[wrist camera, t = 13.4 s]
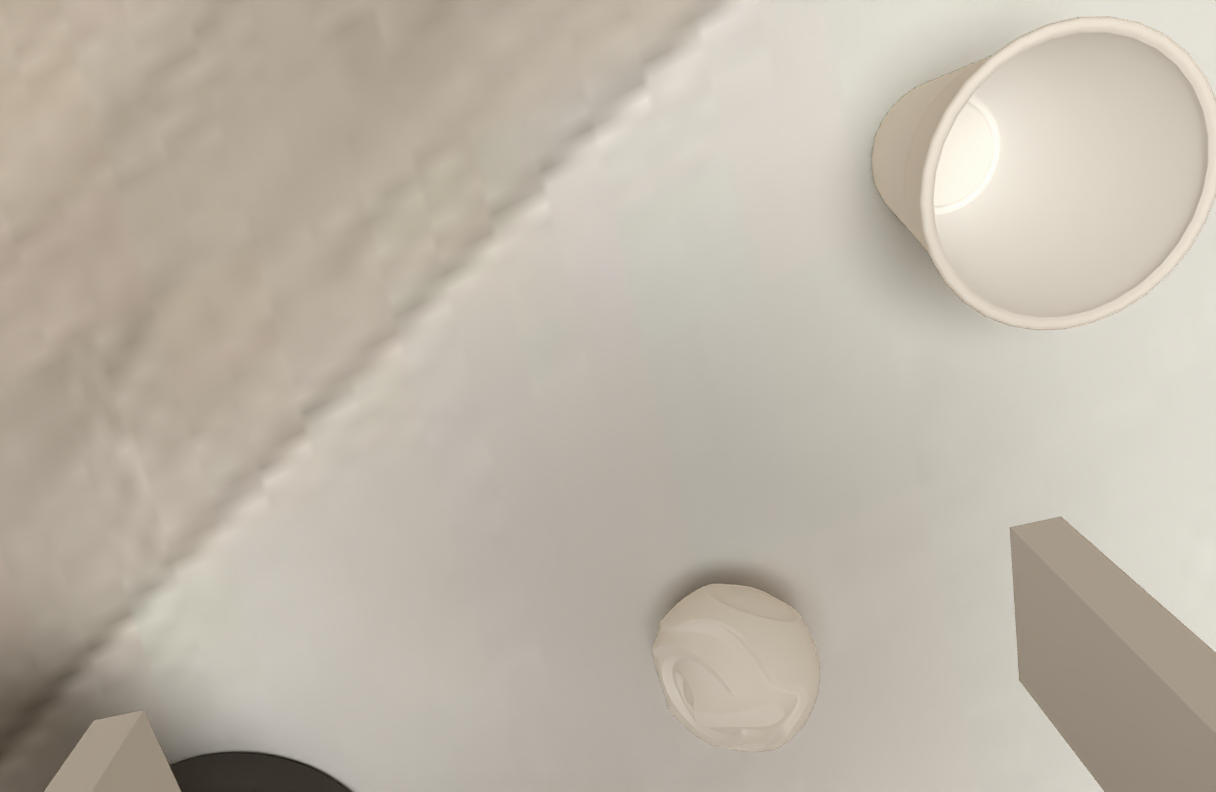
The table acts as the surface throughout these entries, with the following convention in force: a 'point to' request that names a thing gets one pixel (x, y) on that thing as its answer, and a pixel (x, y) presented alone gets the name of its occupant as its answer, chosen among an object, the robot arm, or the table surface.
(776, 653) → the beige round lump
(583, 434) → the table surface
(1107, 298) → the cup
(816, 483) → the table surface
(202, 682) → the table surface
